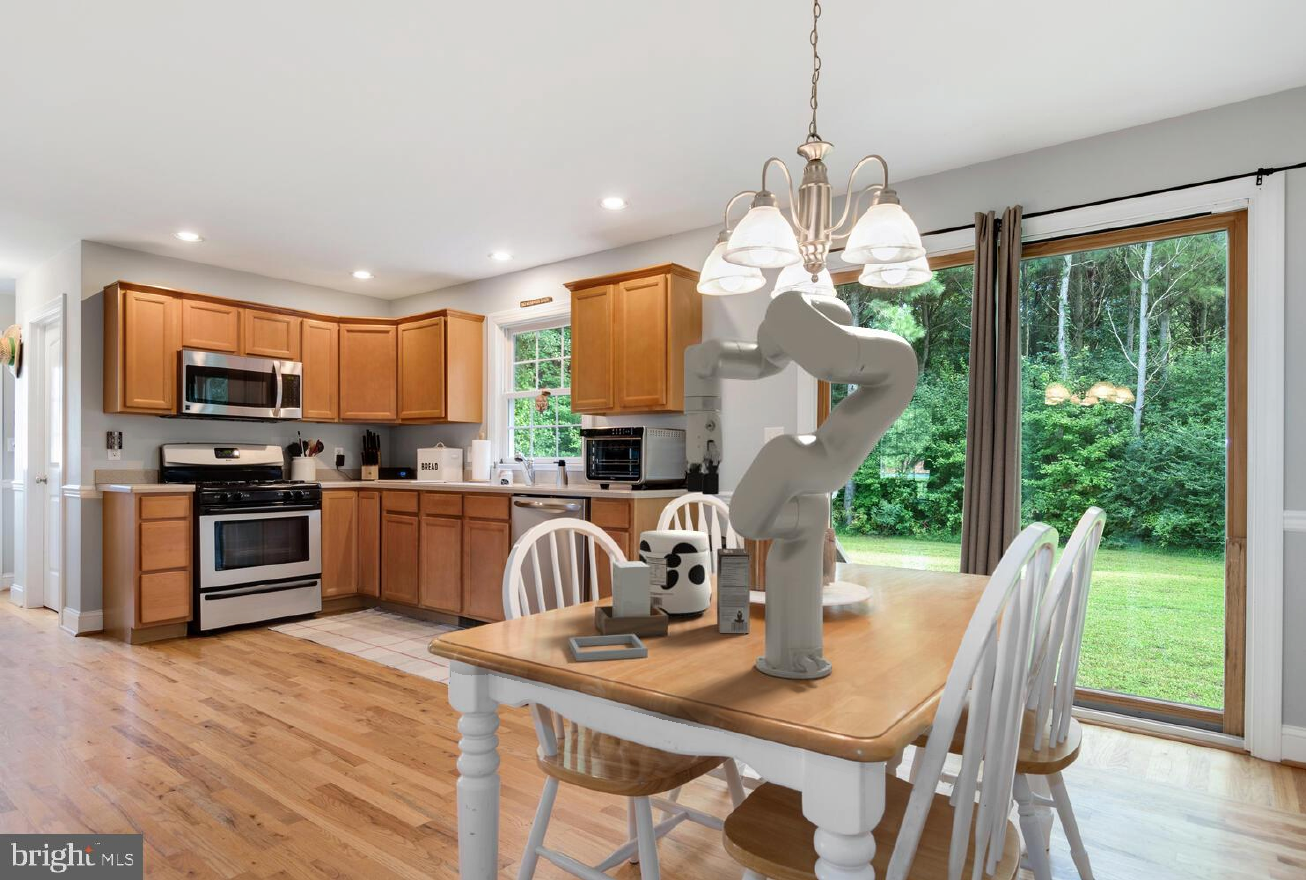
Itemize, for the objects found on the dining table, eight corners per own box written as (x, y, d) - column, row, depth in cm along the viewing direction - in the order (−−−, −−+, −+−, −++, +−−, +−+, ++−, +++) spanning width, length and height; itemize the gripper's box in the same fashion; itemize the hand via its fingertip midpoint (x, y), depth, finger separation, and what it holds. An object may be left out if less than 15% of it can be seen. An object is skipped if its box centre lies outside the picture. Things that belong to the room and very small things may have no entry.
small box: (650, 632, 147) (651, 566, 148) (619, 633, 146) (619, 567, 146) (641, 622, 155) (641, 560, 156) (611, 624, 154) (611, 561, 154)
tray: (647, 656, 132) (647, 648, 132) (577, 661, 129) (577, 652, 129) (634, 641, 142) (634, 634, 142) (568, 645, 139) (568, 637, 139)
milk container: (703, 604, 177) (704, 529, 178) (718, 621, 160) (719, 537, 160) (631, 606, 175) (631, 529, 176) (638, 623, 158) (639, 538, 158)
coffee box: (716, 623, 158) (716, 547, 158) (746, 623, 158) (746, 548, 158) (719, 634, 149) (719, 553, 149) (751, 634, 149) (751, 554, 149)
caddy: (667, 636, 147) (668, 615, 147) (605, 639, 144) (605, 618, 144) (653, 622, 158) (653, 603, 158) (594, 625, 155) (595, 606, 155)
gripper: (735, 404, 141) (735, 495, 140) (706, 409, 157) (706, 490, 157) (698, 404, 139) (697, 495, 138) (672, 409, 155) (672, 491, 155)
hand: (702, 493), depth 148 cm, fingers open, 9 cm apart
